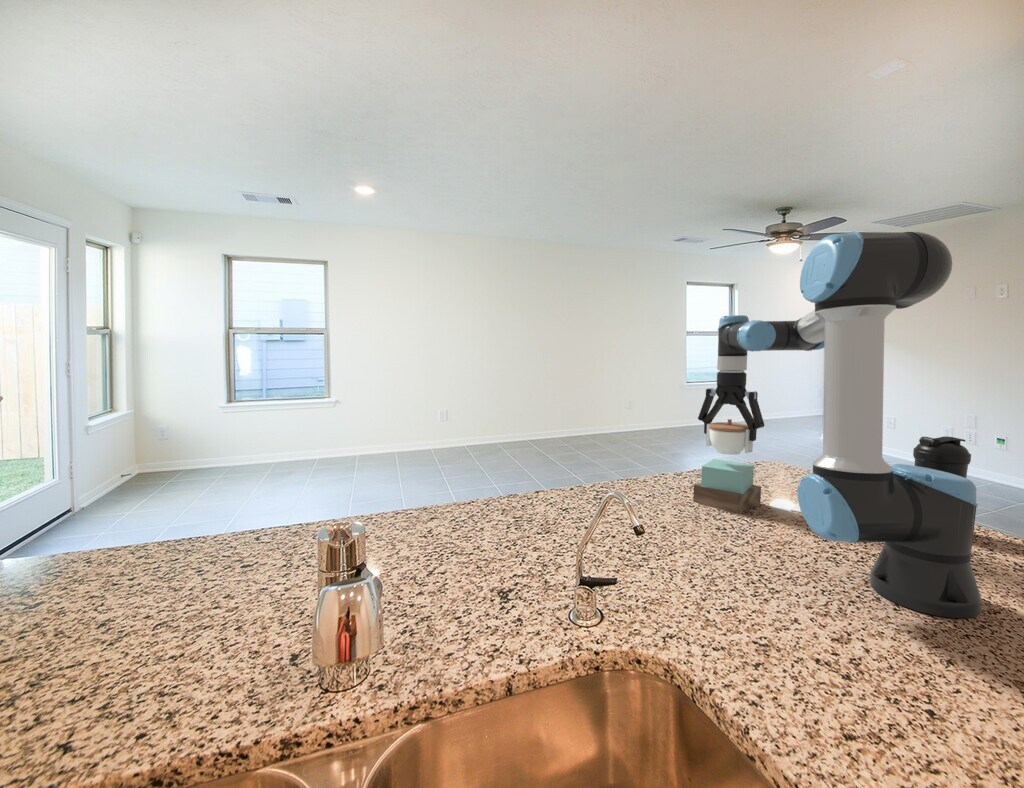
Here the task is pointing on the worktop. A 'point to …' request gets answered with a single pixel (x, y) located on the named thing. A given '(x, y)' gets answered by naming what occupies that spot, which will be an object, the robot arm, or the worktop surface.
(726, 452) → the lidded jar
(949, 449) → the water bottle
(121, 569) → the worktop surface
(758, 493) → the walnut base
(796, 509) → the page
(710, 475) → the teal brick
